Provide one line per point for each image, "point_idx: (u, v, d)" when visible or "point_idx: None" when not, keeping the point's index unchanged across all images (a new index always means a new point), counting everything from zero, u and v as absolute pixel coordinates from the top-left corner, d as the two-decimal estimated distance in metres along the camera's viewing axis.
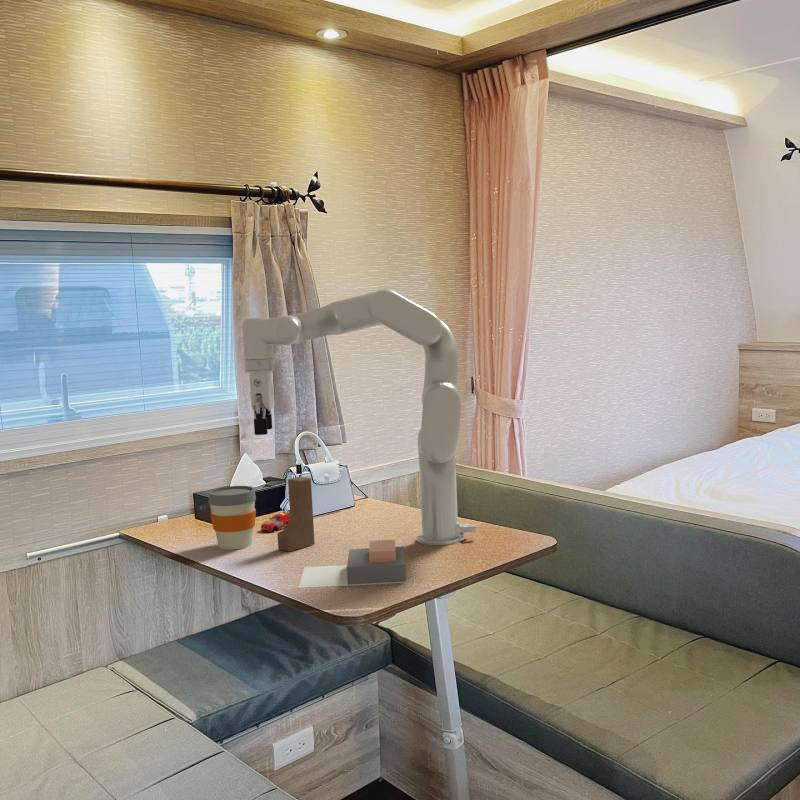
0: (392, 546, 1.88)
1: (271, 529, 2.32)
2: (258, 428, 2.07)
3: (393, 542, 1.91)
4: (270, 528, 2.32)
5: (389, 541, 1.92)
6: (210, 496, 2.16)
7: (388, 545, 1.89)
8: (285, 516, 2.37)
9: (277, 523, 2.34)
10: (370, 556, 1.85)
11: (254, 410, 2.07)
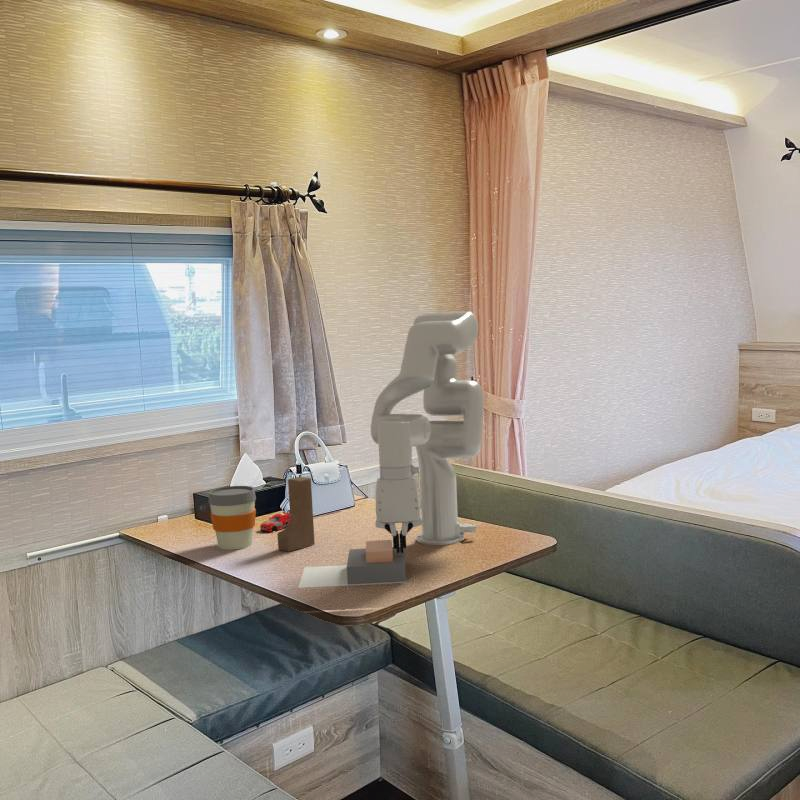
0: (388, 547, 1.88)
1: (270, 529, 2.32)
2: None
3: (390, 542, 1.91)
4: (269, 528, 2.32)
5: (386, 542, 1.92)
6: (210, 496, 2.16)
7: (385, 545, 1.89)
8: (285, 516, 2.37)
9: (276, 523, 2.34)
10: (367, 556, 1.85)
11: (407, 526, 1.87)
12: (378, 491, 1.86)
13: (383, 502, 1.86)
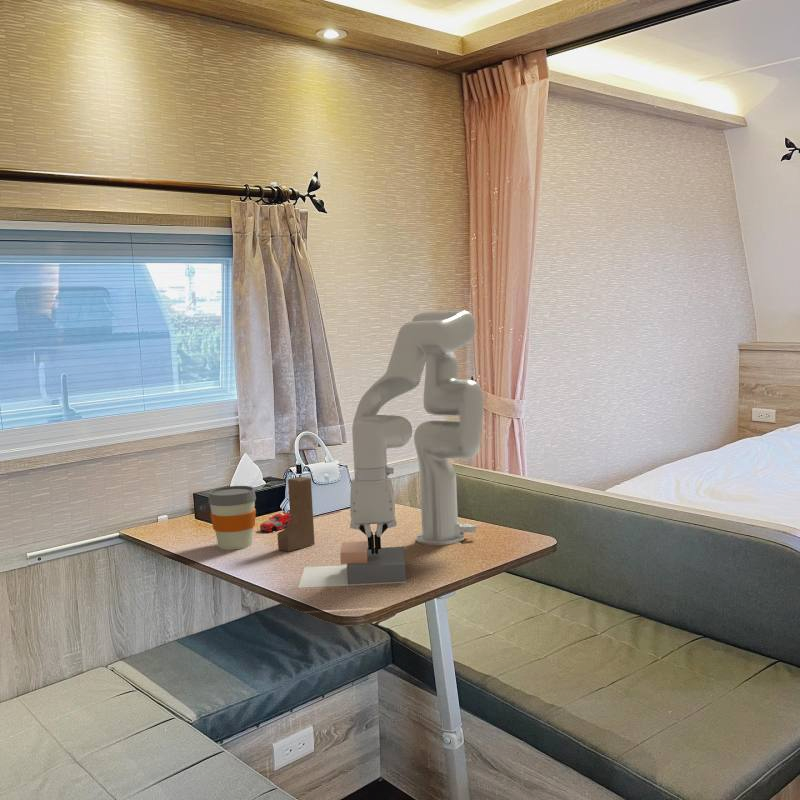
0: (363, 548, 1.88)
1: (270, 529, 2.32)
2: (380, 545, 1.88)
3: (365, 543, 1.91)
4: (269, 528, 2.32)
5: (361, 543, 1.92)
6: (210, 496, 2.16)
7: (360, 546, 1.89)
8: (284, 516, 2.37)
9: (276, 523, 2.34)
10: (341, 558, 1.84)
11: (382, 527, 1.87)
12: (352, 492, 1.86)
13: (357, 503, 1.85)
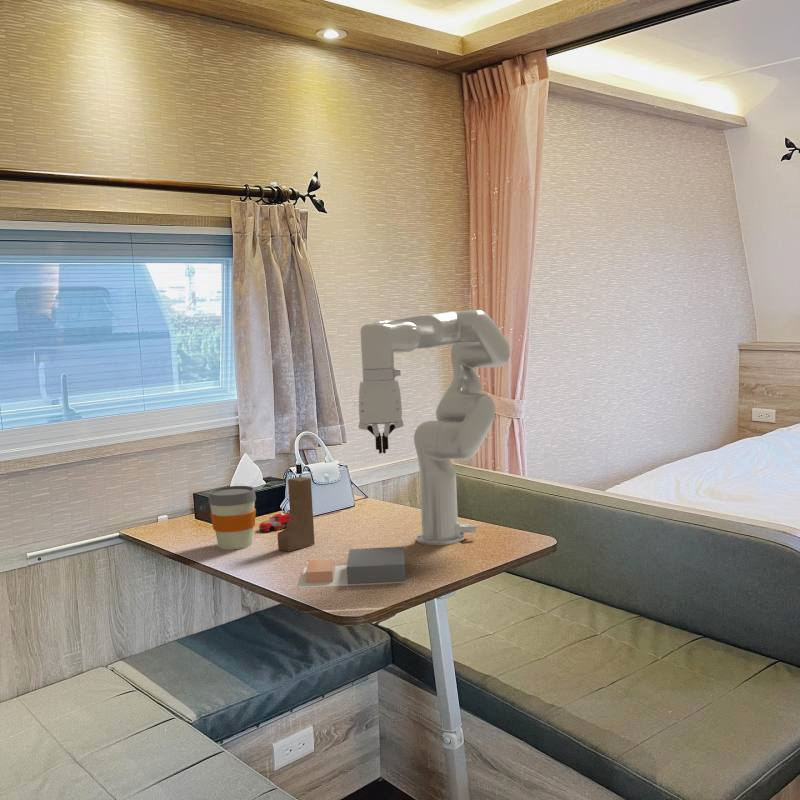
0: None
1: (267, 529, 2.33)
2: None
3: None
4: (266, 528, 2.33)
5: None
6: (210, 496, 2.16)
7: None
8: (284, 516, 2.36)
9: (274, 523, 2.34)
10: (331, 577, 1.85)
11: (389, 427, 1.94)
12: (361, 392, 1.92)
13: (366, 403, 1.92)
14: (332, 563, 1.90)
